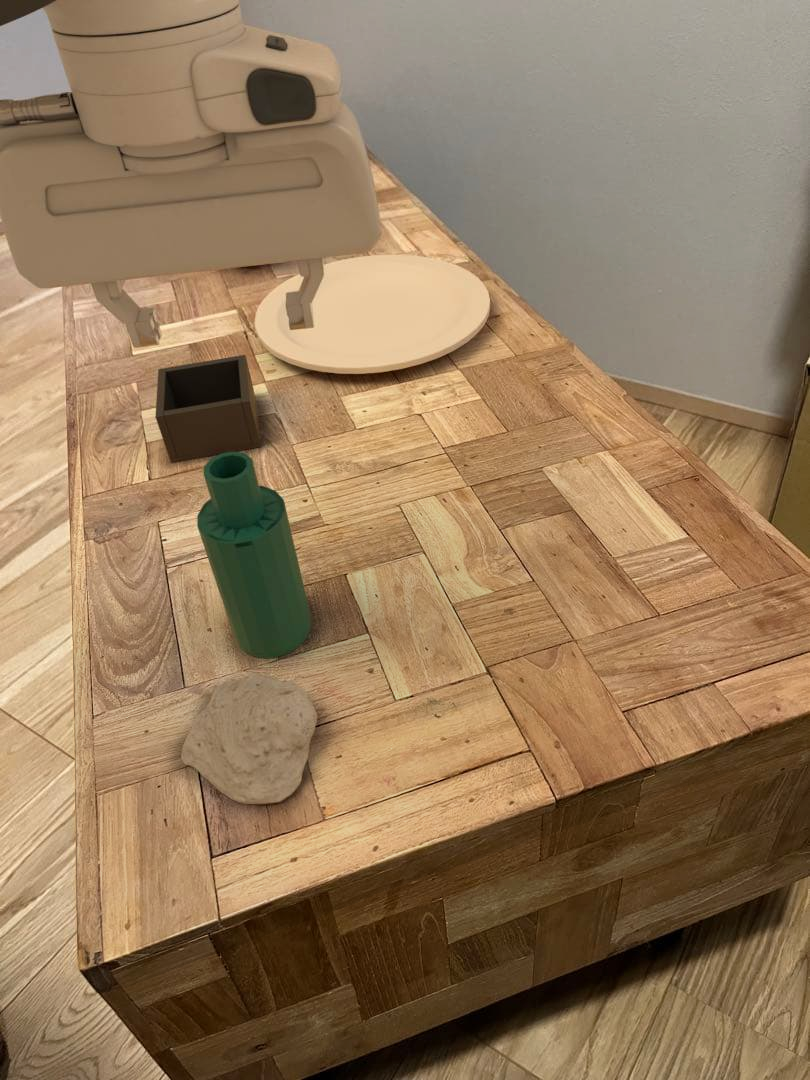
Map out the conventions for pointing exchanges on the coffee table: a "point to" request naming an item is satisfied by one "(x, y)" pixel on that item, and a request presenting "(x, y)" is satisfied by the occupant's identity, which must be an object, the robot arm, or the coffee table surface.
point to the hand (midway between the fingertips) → (225, 333)
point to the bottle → (253, 558)
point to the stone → (253, 739)
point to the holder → (207, 408)
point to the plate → (377, 315)
